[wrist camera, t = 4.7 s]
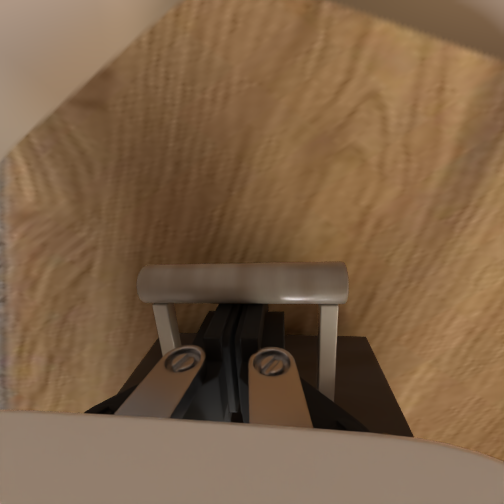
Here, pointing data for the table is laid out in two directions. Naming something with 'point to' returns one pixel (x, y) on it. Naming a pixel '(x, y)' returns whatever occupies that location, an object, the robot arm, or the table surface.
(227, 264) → the drawer
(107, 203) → the table surface
